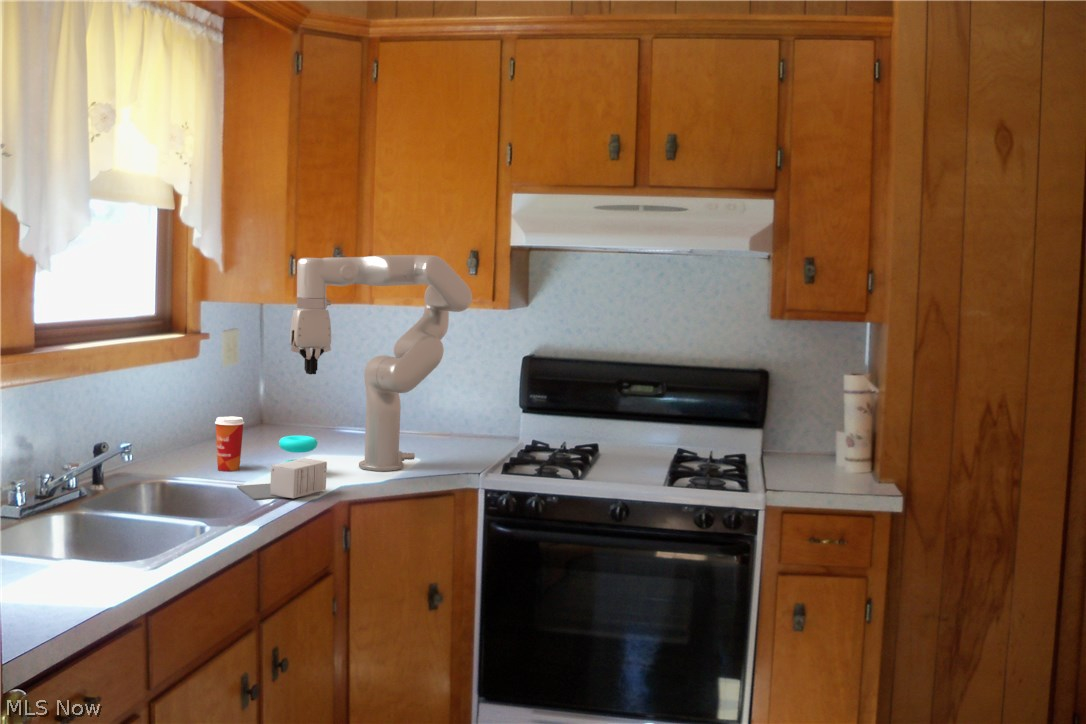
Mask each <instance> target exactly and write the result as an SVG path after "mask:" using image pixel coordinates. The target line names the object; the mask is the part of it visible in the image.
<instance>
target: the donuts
mask: <svg viewBox="0 0 1086 724" xmlns="http://www.w3.org/2000/svg"><path fill="white" fill-rule="evenodd" d="M278 445H279V447H280V449H282V450H283V451H285V452H288V453H308V452H311V451H314V450H315V449H316V448H317V446H318V440H317V439H316V438H315V437H313V436H309V435H299V434H298V435H295V434H294V435H286V436H283V437H281V438H280V439H279V441H278ZM294 460H295V459H289V460H285V461H283V462H282V463H285V462H289V461H294Z"/></svg>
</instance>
